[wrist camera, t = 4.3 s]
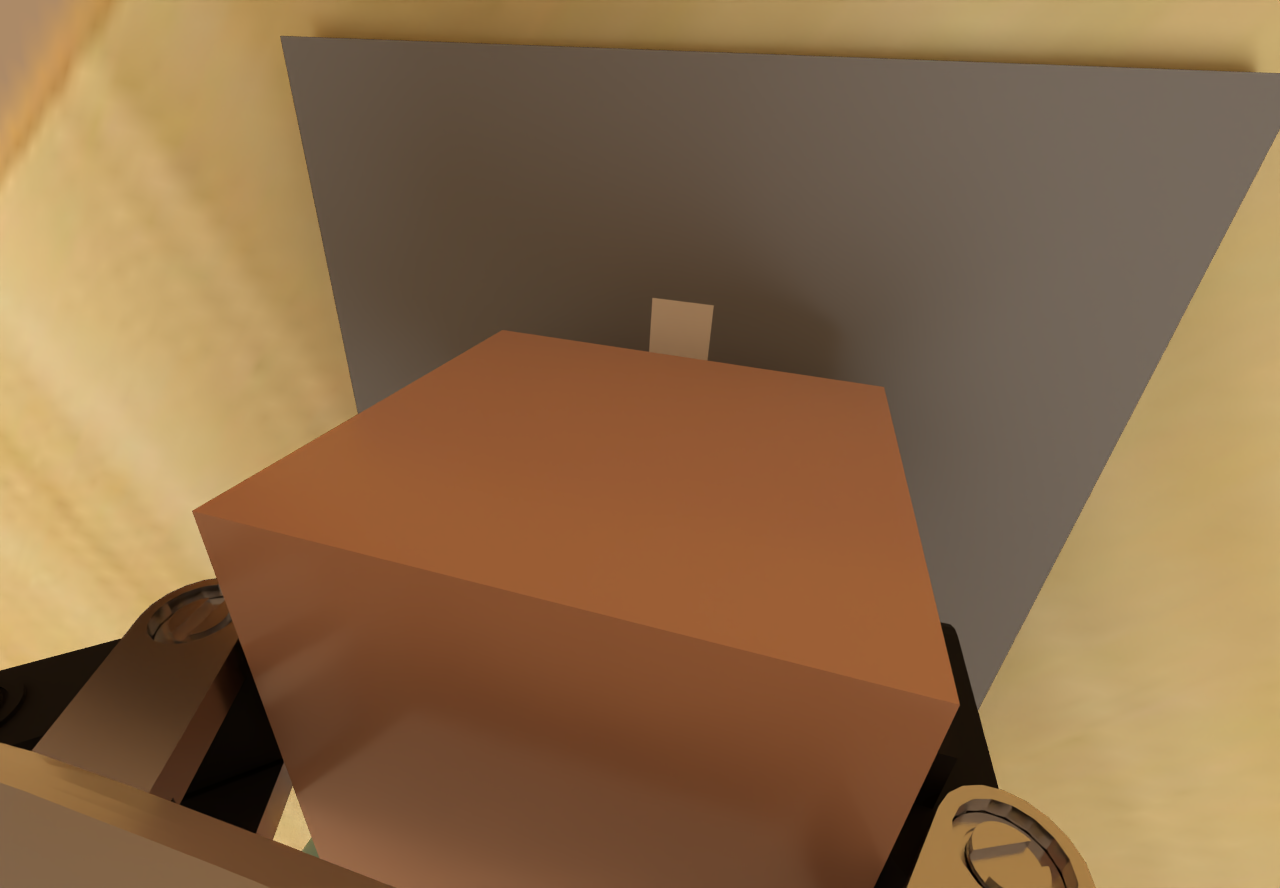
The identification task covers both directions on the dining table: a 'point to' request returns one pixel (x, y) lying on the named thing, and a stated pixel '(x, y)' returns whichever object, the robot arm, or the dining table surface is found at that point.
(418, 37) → the dining table surface
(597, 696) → the block
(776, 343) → the board
